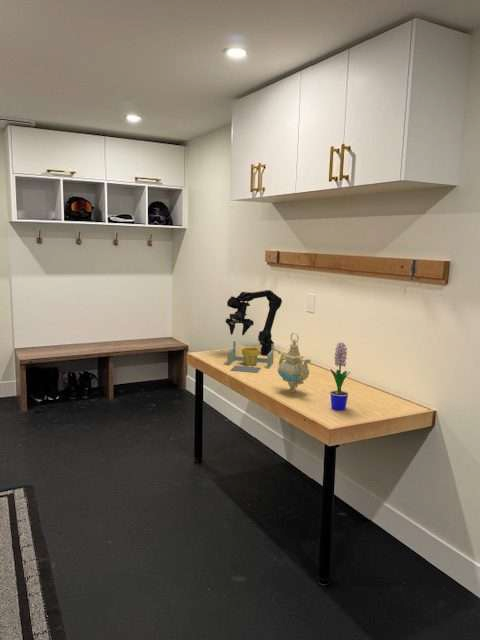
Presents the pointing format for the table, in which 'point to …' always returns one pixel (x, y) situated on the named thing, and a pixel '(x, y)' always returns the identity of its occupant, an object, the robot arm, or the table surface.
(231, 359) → the grey-green open frame
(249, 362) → the plant pot
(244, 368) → the mat
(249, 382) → the table surface
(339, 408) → the hyacinth
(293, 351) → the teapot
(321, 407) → the table surface
